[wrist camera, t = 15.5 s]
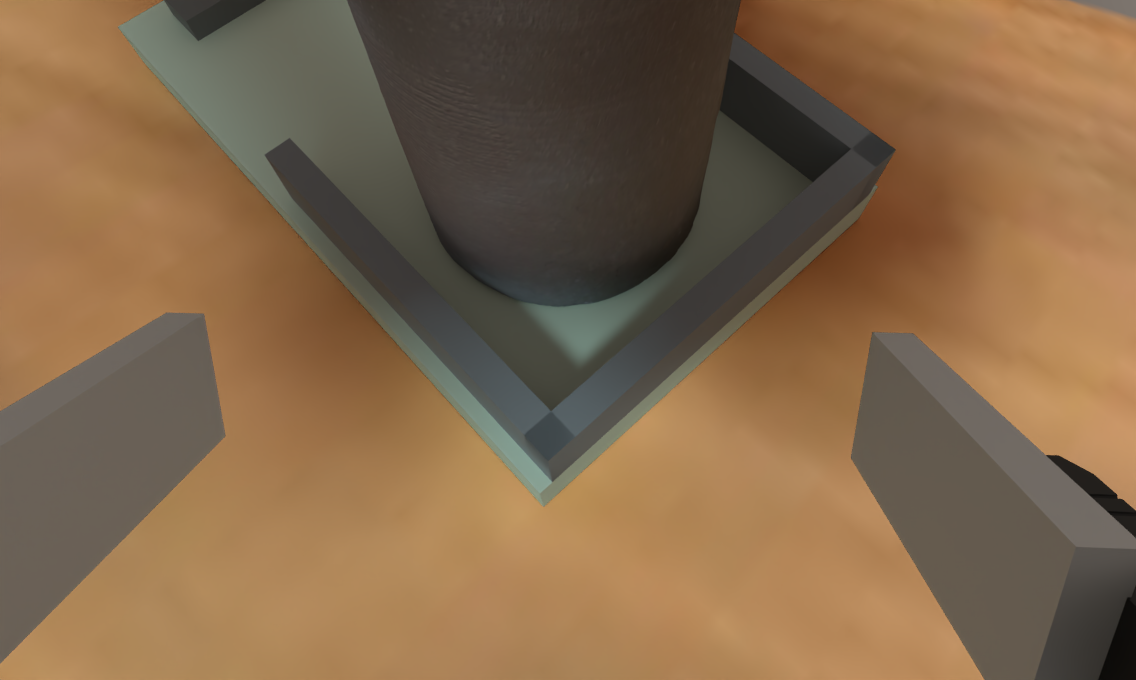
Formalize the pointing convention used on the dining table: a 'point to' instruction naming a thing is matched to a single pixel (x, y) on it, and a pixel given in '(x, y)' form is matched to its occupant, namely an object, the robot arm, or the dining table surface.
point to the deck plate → (454, 297)
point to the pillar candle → (554, 131)
